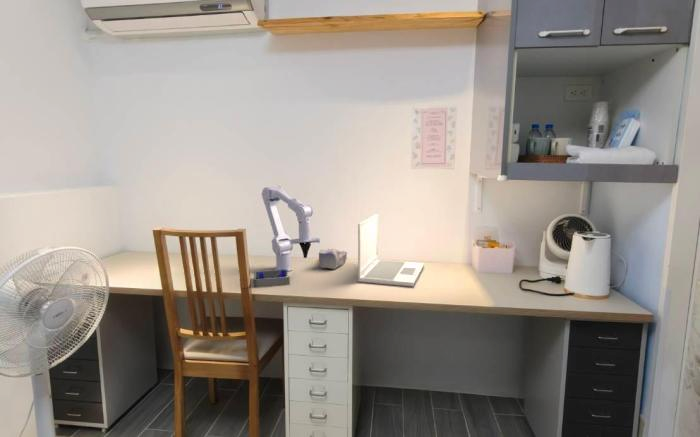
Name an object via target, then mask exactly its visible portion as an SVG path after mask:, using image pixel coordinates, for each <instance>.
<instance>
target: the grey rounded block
mask: <svg viewBox="0 0 700 437" xmlns="http://www.w3.org/2000/svg"><path fill="white" fill-rule="evenodd" d="M347 253H348V252H347V251H345V250H342V251H341V250H339V249H337V248H328V249H320V250H319V252H318V262H319V267H320V268H321V269H331V270H337V268H340V267H342V266H343V265H344V264H345V263H346V260H347V258H348V257H347V256H348V255H347Z"/></svg>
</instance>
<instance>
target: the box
mask: <svg viewBox="0 0 700 437" xmlns="http://www.w3.org/2000/svg"><path fill="white" fill-rule="evenodd" d="M284 270H285V271H286V276H287V277H277V276H278V275H280V273H281V270H276V269H271V270H270V269H269V270H258V271H257V270H256V271H255V270H254V271H253V285H254V288H260V287H259V286H264V287H272V286H273V287H274V286H275V285H277V286H287V285H288V286H289V285H290V283H291V282H290V280H291V279H290V276H288V271H287V269H284ZM259 272H262V273H263V276H264V277H265V278H263V279H256V278H259ZM271 277H274V278H271ZM276 277H277V278H276Z"/></svg>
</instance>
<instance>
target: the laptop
mask: <svg viewBox="0 0 700 437" xmlns="http://www.w3.org/2000/svg"><path fill="white" fill-rule="evenodd" d="M357 243H358V244H357V254H358V256H357V259H358V262H357V263H358V264H357V265H358V266H357V268H358V269H357V270H358V271H357V274H358V275H357V276H358V277H357V281H358V282H359V283H365V284H368V283H369V284H378V285H388V286H399V287H401V286H402V287H409V288H412V287H414V286H415V285H416V283H417V280H418V278H419V276H420V275H421V272H422V271H423V269H424V267H425V263H424V262H423V263H422V262H411V261H398V260H397V261H396V260H385V259H379V213H377V214H374V215H372V216H370V217H369V218H367V219H365V220H363V221H362V222H358V224H357Z"/></svg>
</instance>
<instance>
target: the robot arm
mask: <svg viewBox="0 0 700 437" xmlns="http://www.w3.org/2000/svg"><path fill="white" fill-rule="evenodd" d="M261 197H262V200H263V204H264V206H265V210H266V213H267V216H268V220H269V223H270V227H271V229H272V233H273V236H274V237H273V238H272V240H271V244H272V245H271V247H272V251H273V253H274V254H275V262H276V264H275V265H276V266H274V268H275V270H282V269H287V272H291V271H292V270H293V269H292V267H291V252H292V250H293V249H294V244H295V245H296V244H298V245H299V246H300V249H301V251H302V254H303V259H306V258H307V259H308V253H309V251H310V248H311V245H312V243H321V239H320V238H319V237H311V234H312V233H311V232H312V231H311V217H312V215H313V213H314V212H313V208H312V207H311V205H308V204H307V205H306V204H304V203H303V202H301V201H299V199H298V198H297V197H294V198H293V197H291V196H290V195H289V194H287V192H286V191H285V190H284V188H283V187H282V186H279V185H278V186H272V187H264V188H263V189H262V192H261ZM280 201H282V202H284V203H286V204H287V207H288V209H290V210H291V211H293V212H294V213H295V216H296V218H297V222H298V238H294V239H293V238H292V239H291V237H290V236H289V235H288V234H286V233H285V230H284V226H283V224H282V221H281V219H280V214H279V211H278V208H277V205H278V204H279V202H280Z"/></svg>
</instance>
